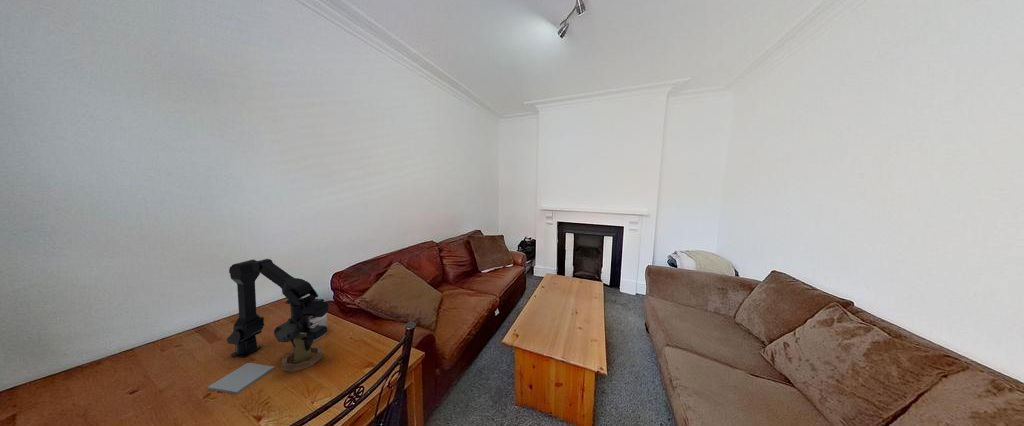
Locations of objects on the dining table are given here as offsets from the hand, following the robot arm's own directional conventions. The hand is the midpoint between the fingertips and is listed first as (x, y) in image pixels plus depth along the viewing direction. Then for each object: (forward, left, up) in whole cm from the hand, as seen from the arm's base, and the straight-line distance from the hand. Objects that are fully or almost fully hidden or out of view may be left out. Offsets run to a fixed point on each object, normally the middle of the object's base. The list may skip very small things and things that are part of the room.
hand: (302, 349), depth 101 cm
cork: (0, 0, -5) cm, 5 cm away
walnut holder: (0, 0, -4) cm, 4 cm away
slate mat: (-12, -12, -4) cm, 18 cm away
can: (-11, +15, -5) cm, 19 cm away
